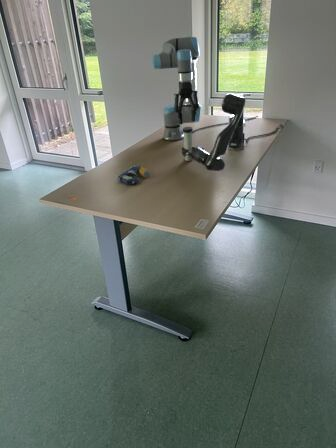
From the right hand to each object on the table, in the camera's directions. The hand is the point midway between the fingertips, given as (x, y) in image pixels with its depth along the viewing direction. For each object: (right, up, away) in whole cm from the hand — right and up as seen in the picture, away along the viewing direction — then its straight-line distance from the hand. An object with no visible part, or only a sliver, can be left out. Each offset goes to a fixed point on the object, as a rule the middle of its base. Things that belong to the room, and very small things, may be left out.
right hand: (186, 148), depth 207 cm
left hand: (0, +13, -10) cm, 16 cm away
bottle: (+2, -7, +1) cm, 7 cm away
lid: (0, +10, -9) cm, 13 cm away
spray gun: (-30, -21, -17) cm, 41 cm away
